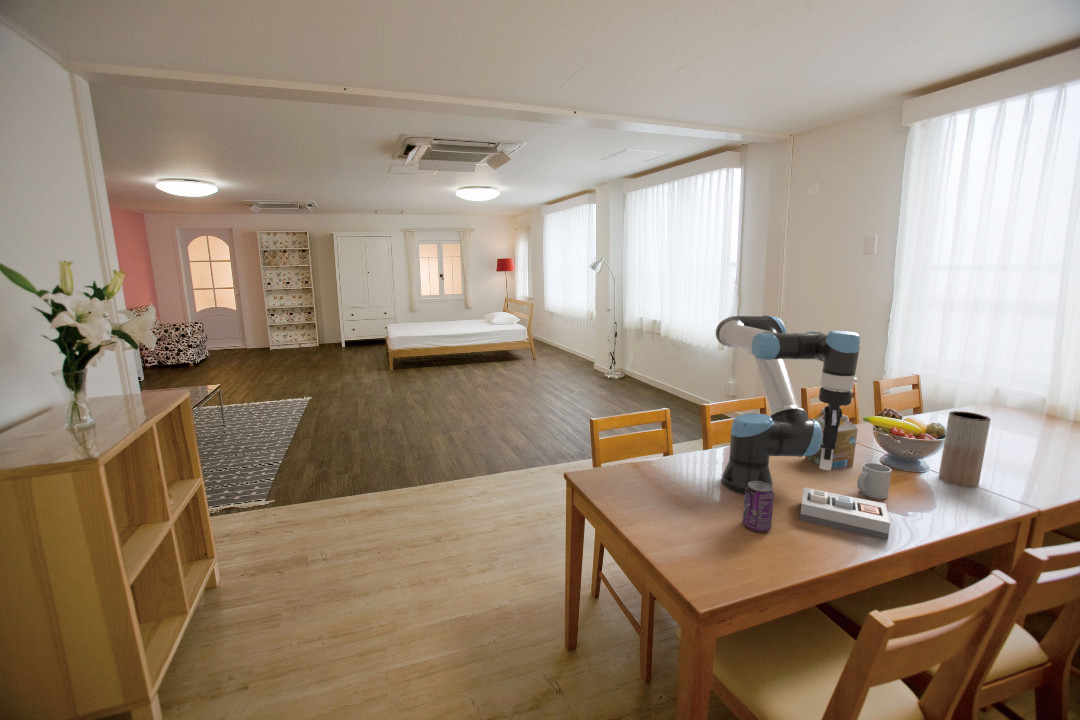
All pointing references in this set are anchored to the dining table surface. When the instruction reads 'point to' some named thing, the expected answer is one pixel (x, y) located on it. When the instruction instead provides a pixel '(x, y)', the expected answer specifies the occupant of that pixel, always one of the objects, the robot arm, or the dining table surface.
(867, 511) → the key right
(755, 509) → the beverage can
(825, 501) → the key left
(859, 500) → the keypad
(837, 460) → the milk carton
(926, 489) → the dining table surface
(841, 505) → the key mid
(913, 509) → the dining table surface
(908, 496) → the dining table surface
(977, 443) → the planter
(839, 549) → the dining table surface
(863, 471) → the cup
